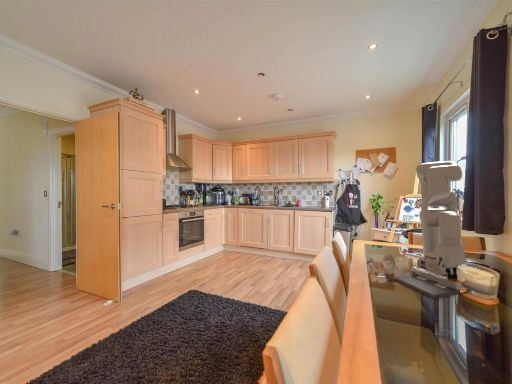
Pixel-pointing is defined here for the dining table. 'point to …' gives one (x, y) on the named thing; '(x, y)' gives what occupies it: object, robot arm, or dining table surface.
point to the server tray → (426, 285)
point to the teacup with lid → (432, 263)
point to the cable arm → (437, 277)
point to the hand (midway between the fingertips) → (452, 282)
